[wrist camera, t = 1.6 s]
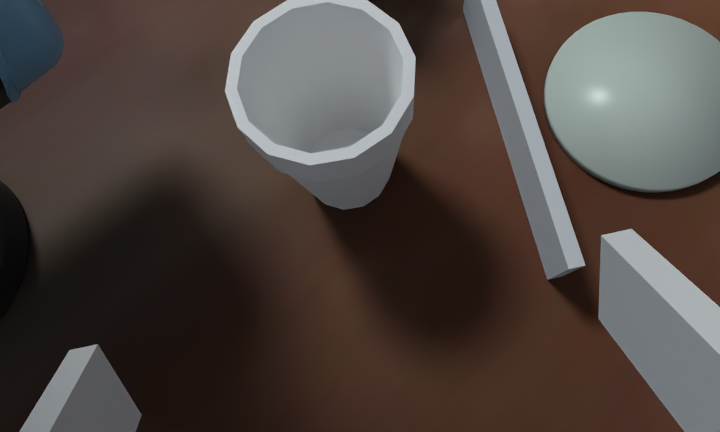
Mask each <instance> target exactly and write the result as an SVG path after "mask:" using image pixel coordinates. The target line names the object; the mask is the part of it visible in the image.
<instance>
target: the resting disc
mask: <svg viewBox="0 0 720 432" xmlns="http://www.w3.org/2000/svg"><path fill="white" fill-rule="evenodd" d="M543 107H544V112H545V117H546V120H547V123H548V126H549V128H550V131H551V132H552V134H553V136H554V138H555V140H556V141H557V143H558V144H559V146H560V147H561V149H562V150H563V151H564V152H565V153H566V155H567V156H568V157H569V158H570V159H571V160H572V161H573V162H574V163H576V164H577V165H578V166H579V167H580V168H582V169H583V170H584V171H586V172H587V173H589V174H590V175H592V176H594V177H596V178H597V179H599V180H601V181H603V182H605V183H608V184H611V185H613V186H616V187H619V188H623V189H627V190H631V191H638V192H646V193H661V192H671V191H676V190H680V189H685V188H688V187H690V186H693V185H696V184H698V183H700V182H702V181H704V180H706V179H708V178H709V177H711V176H713V175H715V174H716V173H718V172H719V171H720V42H719V41H718V40H717V39H716V38H714V37H713V36H712V35H710V34H709V33H707V32H706V31H704V30H703V29H701V28H699V27H697V26H695V25H693V24H691V23H689V22H687V21H684V20H682V19H679V18H676V17H672V16H669V15H664V14H659V13H651V12H627V13H619V14H614V15H610V16H606V17H604V18H601V19H598V20H595V21H593V22H591V23H589V24H587V25H586V26H584V27H582V28H581V29H580V30H578V31H577V32H575V33H574V34H573V35H572V36H571V37H570V38H569V39H567V40H566V42H565V43H564V44H563V45H562V46H561V48H560V49H559V51H558V52H557V54H556V55H555V57H554V59H553V61H552V63H551V65H550V67H549V70H548V72H547V75H546V78H545V82H544V89H543Z"/></svg>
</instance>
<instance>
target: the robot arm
mask: <svg viewBox="0 0 720 432" xmlns="http://www.w3.org/2000/svg"><path fill="white" fill-rule="evenodd" d="M63 44H64V43H63V37H62V33H61V30H60V28H59V26H58V24H57V23H56V21H55V20H54V18H53V16H52V15H51V13H50V12H49V10H48V9H47V8H46V6H45V5H44V3H43V2H42V0H0V109H1V108H2V107H4V106H5V105H7V104H8V103H10V102H11V103H14V102H16V101H17V99H19V97H20V93H21V92H22V91H23V90H24V89H26V88H27V87H28V86H30V85H31V84H32V83H33V82H35V81H36V80H37V79H39V78H40V77H41V76H43V75H44V74H45V73H46V72H48V71H49V70H50V69H52V68H53V67H54V66H55V65H56V64H57V62H58V61H59V59H60V57H61V55H62V50H63ZM27 255H28V229H27V223H26V219H25V216H24V213H23V210H22V208H21V205H20V204H19V202H18V200H17V198H16V197H15V195H14V194H13V193H12V192H11V190H10V189H9V188H8V187H7V186H6V185H5V184H4V183H2V182H1V181H0V317H1V316H2V314H3V313H4V312H5V310H6V309H7V307H8V306H9V304H10V302H11V301H12V299H13V297H14V295H15V293H16V291H17V289H18V287H19V285H20V282H21V279H22V276H23V273H24V270H25V266H26V261H27ZM598 319H599V320H600V321H601V323H602V324H603V325H604V327H605V328H606V329H607V331H608V332H609V333H610V335H611V336H612V337H613V339H614V340H615V341H616V342H617V344H618V345H619V346H620V348H621V349H622V350H623V352H624V353H625V354H626V356H627V357H628V358H629V360H630V361H631V362H632V363H633V365H634V366H635V367H636V369H637V370H638V371H639V373H640V374H641V375H642V377H643V378H644V379H645V381H646V382H647V383H648V384H649V386H650V387H651V388H652V390H653V391H654V392H655V394H656V395H657V396H658V398H659V399H660V400H661V402H662V403H663V404H664V405H665V407H666V408H667V409H668V411H669V412H670V413H671V415H672V416H673V417H674V419H675V420H676V421H677V423H678V424H679V425H680V426H681V428H682V429H683V430H684V432H720V307H719V306H718V305H717V304H715V303H714V302H713V301H712V300H711V299H710V298H709V297H708V296H706V295H705V294H704V293H703V292H702V291H701V290H700V289H699V288H697V287H696V286H695V285H694V284H693V283H692V282H691V281H690V280H688V279H687V278H686V277H685V276H684V275H683V274H682V273H681V272H679V271H678V270H677V269H676V268H675V267H674V266H673V265H672V264H670V263H669V262H668V261H667V260H666V259H665V258H664V257H663V256H661V255H660V254H659V253H658V252H657V251H656V250H655V249H654V248H652V247H651V246H650V245H649V244H648V243H647V242H646V241H645V240H643V239H642V238H641V237H640V236H639V235H638V234H637V233H636V232H634V231H633V230H632V229H628V230H624V231H619V232H615V233H610V234H605V235H601V256H600V286H599V317H598ZM141 416H142V415H141V413H140V411H139V410H138V408H137V407H136V405H135V403H134V402H133V400H132V399H131V397H130V395H129V394H128V392H127V390H126V389H125V387H124V386H123V384H122V382H121V381H120V379H119V378H118V376H117V374H116V373H115V371H114V369H113V368H112V366H111V365H110V363H109V361H108V360H107V358H106V356H105V355H104V353H103V352H102V350H101V348H100V347H99V345H98V344H96V345H91V346H87V347H82V348H77V349H73V350H69V352H68V353H67V355H66V357H65V358H64V360H63V361H62V363H61V365H60V366H59V368H58V370H57V371H56V373H55V374H54V376H53V378H52V379H51V381H50V383H49V384H48V386H47V387H46V389H45V391H44V392H43V394H42V396H41V397H40V399H39V400H38V402H37V404H36V405H35V407H34V409H33V410H32V412H31V414H30V415H29V417H28V418H27V420H26V422H25V423H24V425H23V427H22V428H21V430H20V431H19V432H136V429H137V426H138V424H139V421H140V418H141Z"/></svg>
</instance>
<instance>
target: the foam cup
mask: <svg viewBox="0 0 720 432" xmlns="http://www.w3.org/2000/svg"><path fill="white" fill-rule="evenodd" d="M415 62H416V57H415V55H414V53H413V51H412V49H411V47H410V45H409V43H408V41H407V39H406V37H405V34H404V32H403V30H402V28H401V26H400V24H399V23H398V22H397V21H395V20H394V19H393V18H391V17H390V16H389V15H387V14H386V13H384V12H383V11H382V10H380V9H379V8H378V7H376V6H375V5H374V4H372V3H371V2H369V1H368V0H287V1H285V2H284V3H282V4H280V5H279V6H277V7H276V8H274V9H272V10H271V11H269V12H268V13H266V14H264V15H263V16H261V17H260V18H258V19H256V20H255V21H253V23H252V24H251V26H250V27H249V29H248V30H247V31H246V33H245V34H244V36H243V37H242V39H241V40H240V41H239V43H238V44H237V46H236V47H235V49H234V50H233V52H232V53H231V57H230V63H229V69H228V76H227V82H226V88H225V93H226V96H227V99H228V101H229V104H230V107H231V110H232V113H233V116H234V118H235V121H236V124H237V127H238V129H239V130H240V131H241V133H242V134H243V135H244V137H245V138H246V139H247V141H248V142H249V144H250V145H251V146H252V147H253V148H254V149H255V150H256V151H257V152H258V153H259V154H260V155H262V156H263V157H264V158H265V159H266V160H267V161H268V162H269V163H271V164H272V165H273V166H274V167H275V168H276V169H277V170H278V171H279V172H283V173H287V174H289V175H290V176H291V177H293V178H294V179H295V180H296V181H297V182H299V183H300V184H301V185H302V186H303V187H305V188H306V189H307V190H308V191H309V192H311V193H312V194H313V195H314V196H316V197H317V198H318V199H319V200H320V201H322V202H323V203H324V204H326V205H329V206H332V207H336V208H340V209H343V210H345V209H351V208H357V207H363V206H365V205H366V204H368V203H369V202H371V201H372V200H374V199H375V198H377V197H378V196H379V195H380V194H381V192H382V190H383V189H384V187H385V185H386V183H387V182H388V180H389V178H390V175H391V172H392V169H393V166H394V163H395V160H396V157H397V153H398V150H399V147H400V144H401V141H402V138H403V135H404V133H405V131H406V129H407V127H408V126H409V124H410V122H411V121H412V119H413V103H414V84H415Z"/></svg>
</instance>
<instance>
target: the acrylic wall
mask: <svg viewBox="0 0 720 432" xmlns="http://www.w3.org/2000/svg"><path fill="white" fill-rule="evenodd" d="M463 13H464V16H465V19H466V22H467V25H468V29H469V32H470V35H471V38H472V41H473V45H474V48H475V51H476V54H477V57H478V60H479V64H480V67H481V70H482V73H483V76H484V80H485V83H486V86H487V89H488V92H489V96H490V99H491V102H492V105H493V108H494V111H495V115H496V118H497V121H498V124H499V127H500V131H501V134H502V137H503V140H504V143H505V147H506V150H507V153H508V156H509V159H510V163H511V166H512V169H513V172H514V175H515V178H516V182H517V185H518V188H519V191H520V194H521V198H522V201H523V204H524V207H525V210H526V214H527V217H528V220H529V223H530V226H531V229H532V233H533V236H534V239H535V242H536V245H537V249H538V252H539V255H540V258H541V261H542V265H543V268H544V271H545V274H546V277H547V280H549V279H553V278H558V277H562V276H564V275H566V274H569V273H571V272H573V271H575V270H577V269H579V268H581V267H583V266H586V265H585V262H584V260H583V257H582V254H581V251H580V248H579V245H578V242H577V239H576V236H575V233H574V230H573V227H572V224H571V221H570V218H569V215H568V212H567V209H566V206H565V203H564V200H563V197H562V194H561V191H560V188H559V186H558V183H557V180H556V177H555V174H554V171H553V168H552V165H551V162H550V159H549V156H548V153H547V150H546V147H545V144H544V141H543V138H542V135H541V132H540V129H539V126H538V123H537V120H536V117H535V114H534V111H533V109H532V106H531V103H530V100H529V97H528V94H527V91H526V88H525V85H524V82H523V79H522V76H521V73H520V70H519V67H518V64H517V61H516V58H515V55H514V52H513V49H512V46H511V43H510V40H509V37H508V35H507V32H506V29H505V26H504V23H503V20H502V17H501V14H500V11H499V8H498V5H497V2H496V0H464V4H463Z"/></svg>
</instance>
